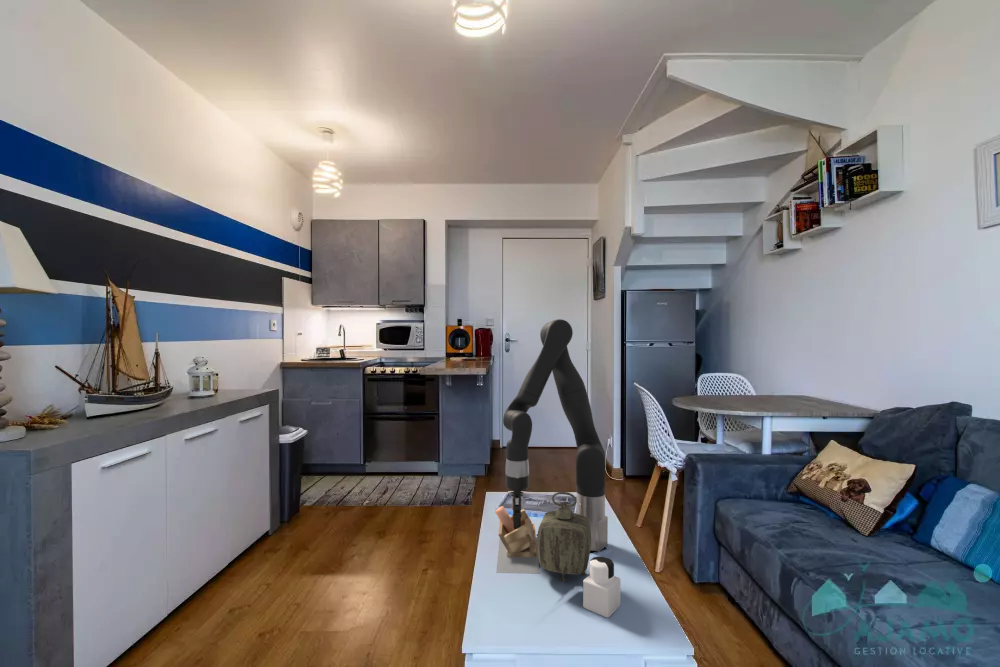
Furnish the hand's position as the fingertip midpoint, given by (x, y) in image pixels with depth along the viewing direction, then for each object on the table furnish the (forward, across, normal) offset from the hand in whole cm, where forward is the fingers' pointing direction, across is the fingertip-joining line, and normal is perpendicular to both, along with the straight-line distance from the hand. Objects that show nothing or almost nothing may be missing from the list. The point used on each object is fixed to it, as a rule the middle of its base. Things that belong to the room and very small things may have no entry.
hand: (517, 522), depth 148 cm
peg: (+5, 0, 0) cm, 5 cm away
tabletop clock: (+9, +17, +13) cm, 23 cm away
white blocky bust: (+9, +29, +22) cm, 37 cm away
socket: (+8, 0, +1) cm, 8 cm away
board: (+9, +4, 0) cm, 10 cm away
